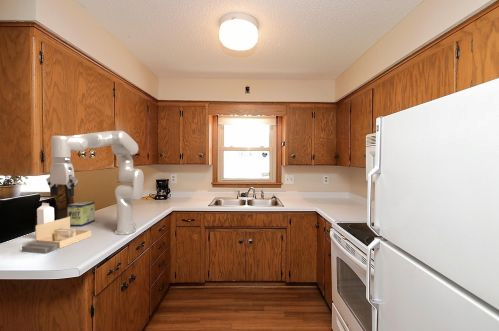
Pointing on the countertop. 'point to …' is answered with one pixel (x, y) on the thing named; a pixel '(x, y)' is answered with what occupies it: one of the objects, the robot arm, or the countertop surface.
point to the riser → (39, 248)
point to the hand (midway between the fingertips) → (62, 196)
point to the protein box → (81, 213)
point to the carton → (47, 229)
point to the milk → (45, 214)
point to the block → (64, 234)
